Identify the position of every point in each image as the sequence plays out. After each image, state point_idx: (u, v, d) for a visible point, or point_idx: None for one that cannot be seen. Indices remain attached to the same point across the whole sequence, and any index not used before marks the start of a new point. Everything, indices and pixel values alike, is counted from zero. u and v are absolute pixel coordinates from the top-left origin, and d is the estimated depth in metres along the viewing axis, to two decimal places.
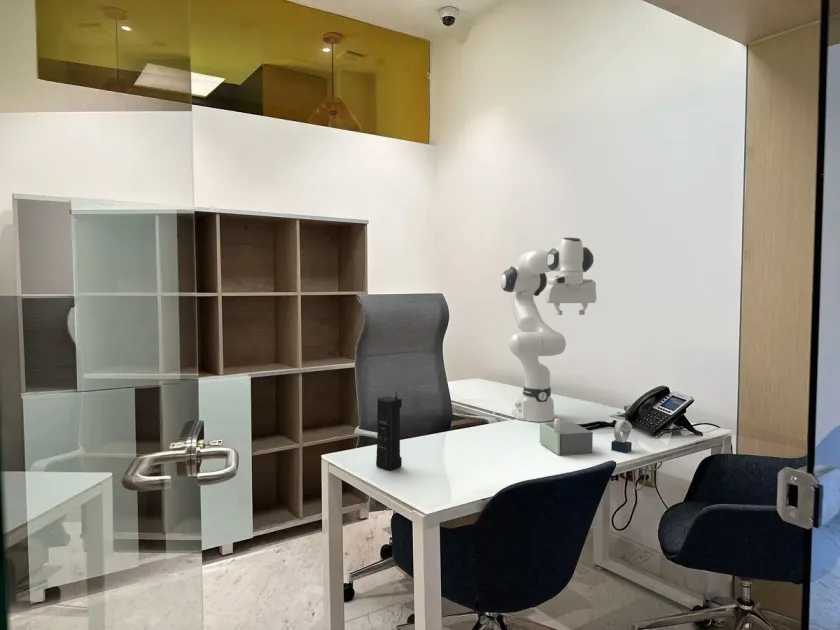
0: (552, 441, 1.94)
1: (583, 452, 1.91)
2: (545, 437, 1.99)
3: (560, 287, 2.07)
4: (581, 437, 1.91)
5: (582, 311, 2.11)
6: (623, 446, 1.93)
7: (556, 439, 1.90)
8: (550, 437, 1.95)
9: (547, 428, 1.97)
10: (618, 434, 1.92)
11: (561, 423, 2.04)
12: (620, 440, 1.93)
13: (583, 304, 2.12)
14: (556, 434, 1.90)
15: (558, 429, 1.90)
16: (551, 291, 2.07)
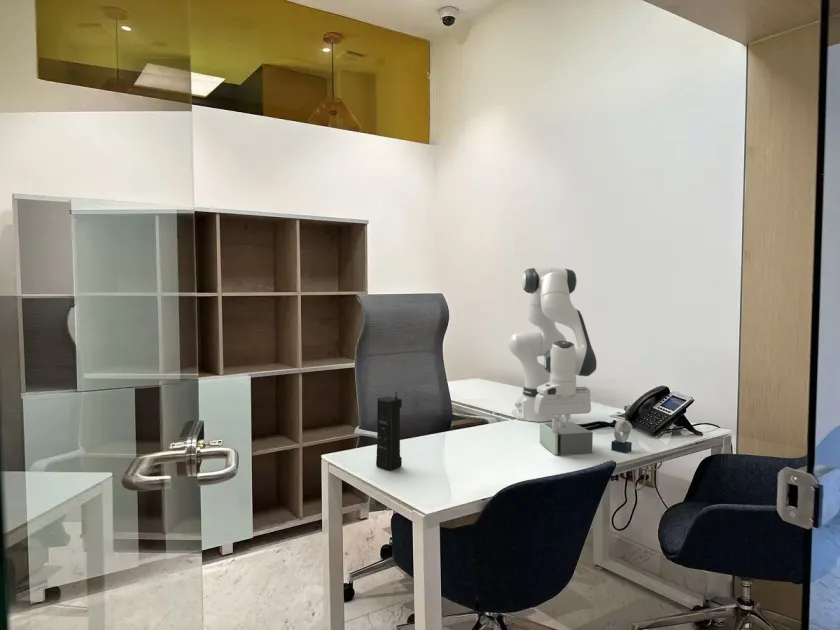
0: (550, 441, 1.93)
1: (583, 452, 1.91)
2: (544, 437, 1.99)
3: (551, 398, 1.87)
4: (581, 437, 1.91)
5: (564, 423, 1.90)
6: (623, 446, 1.93)
7: (554, 439, 1.90)
8: (549, 437, 1.95)
9: (546, 428, 1.97)
10: (618, 434, 1.92)
11: None
12: (620, 440, 1.93)
13: (565, 415, 1.91)
14: (554, 434, 1.90)
15: (556, 429, 1.90)
16: (541, 403, 1.86)
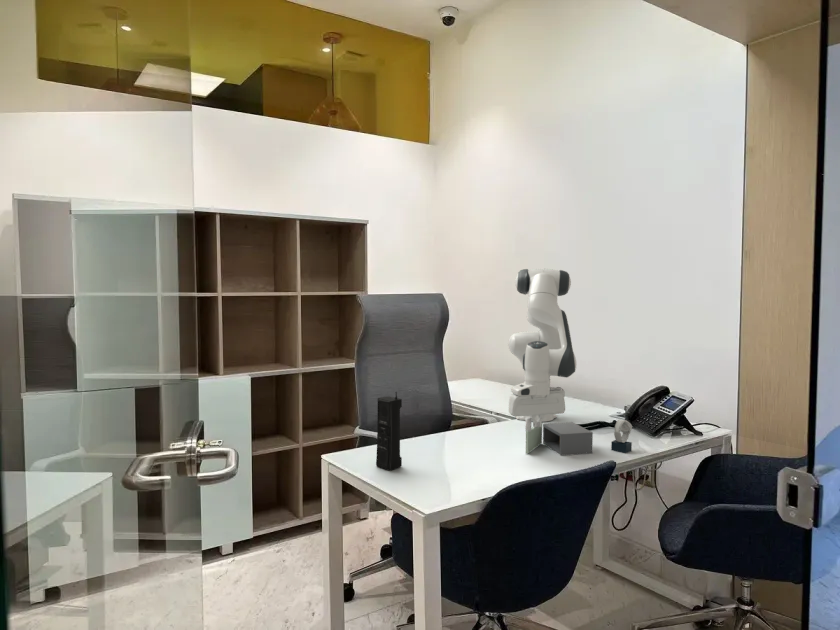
0: None
1: (583, 452, 1.91)
2: None
3: (525, 399, 1.87)
4: (581, 437, 1.91)
5: (538, 423, 1.90)
6: (623, 446, 1.93)
7: None
8: None
9: None
10: (618, 434, 1.92)
11: (561, 423, 2.04)
12: (620, 440, 1.93)
13: (539, 415, 1.91)
14: None
15: (527, 428, 1.91)
16: (515, 404, 1.87)
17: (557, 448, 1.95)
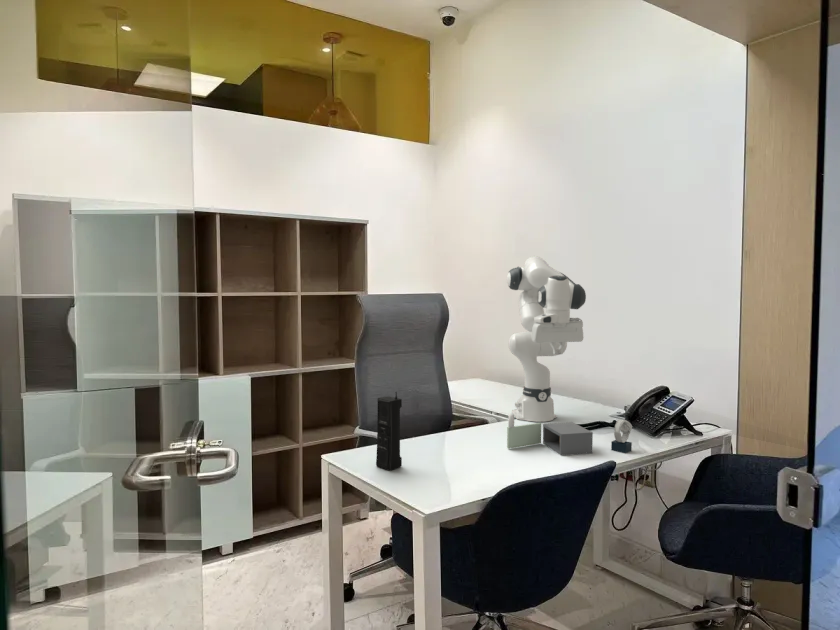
0: None
1: (583, 452, 1.91)
2: None
3: (546, 326, 2.05)
4: (581, 437, 1.91)
5: (559, 350, 2.08)
6: (623, 446, 1.93)
7: None
8: None
9: None
10: (618, 434, 1.92)
11: (561, 423, 2.04)
12: (620, 440, 1.93)
13: (560, 343, 2.09)
14: None
15: (509, 424, 1.97)
16: (537, 330, 2.05)
17: (557, 448, 1.95)
